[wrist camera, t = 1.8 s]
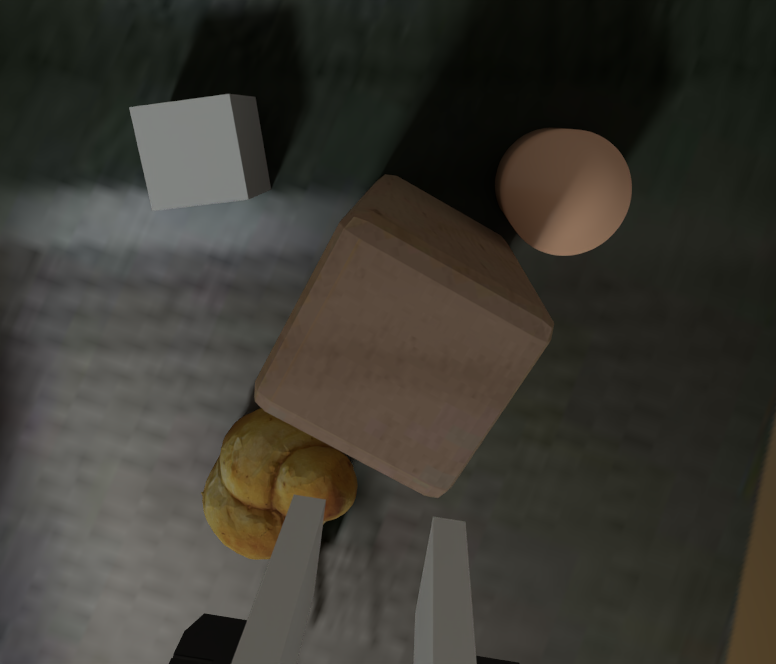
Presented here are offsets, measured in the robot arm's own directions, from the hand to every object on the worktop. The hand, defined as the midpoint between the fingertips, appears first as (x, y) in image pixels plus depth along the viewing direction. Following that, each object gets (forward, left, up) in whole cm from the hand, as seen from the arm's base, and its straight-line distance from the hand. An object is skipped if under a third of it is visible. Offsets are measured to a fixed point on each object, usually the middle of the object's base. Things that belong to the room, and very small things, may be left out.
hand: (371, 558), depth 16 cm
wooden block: (0, 0, -33) cm, 33 cm away
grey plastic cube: (-14, +6, -33) cm, 36 cm away
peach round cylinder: (+8, +7, -33) cm, 34 cm away
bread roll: (-8, -17, -33) cm, 38 cm away
